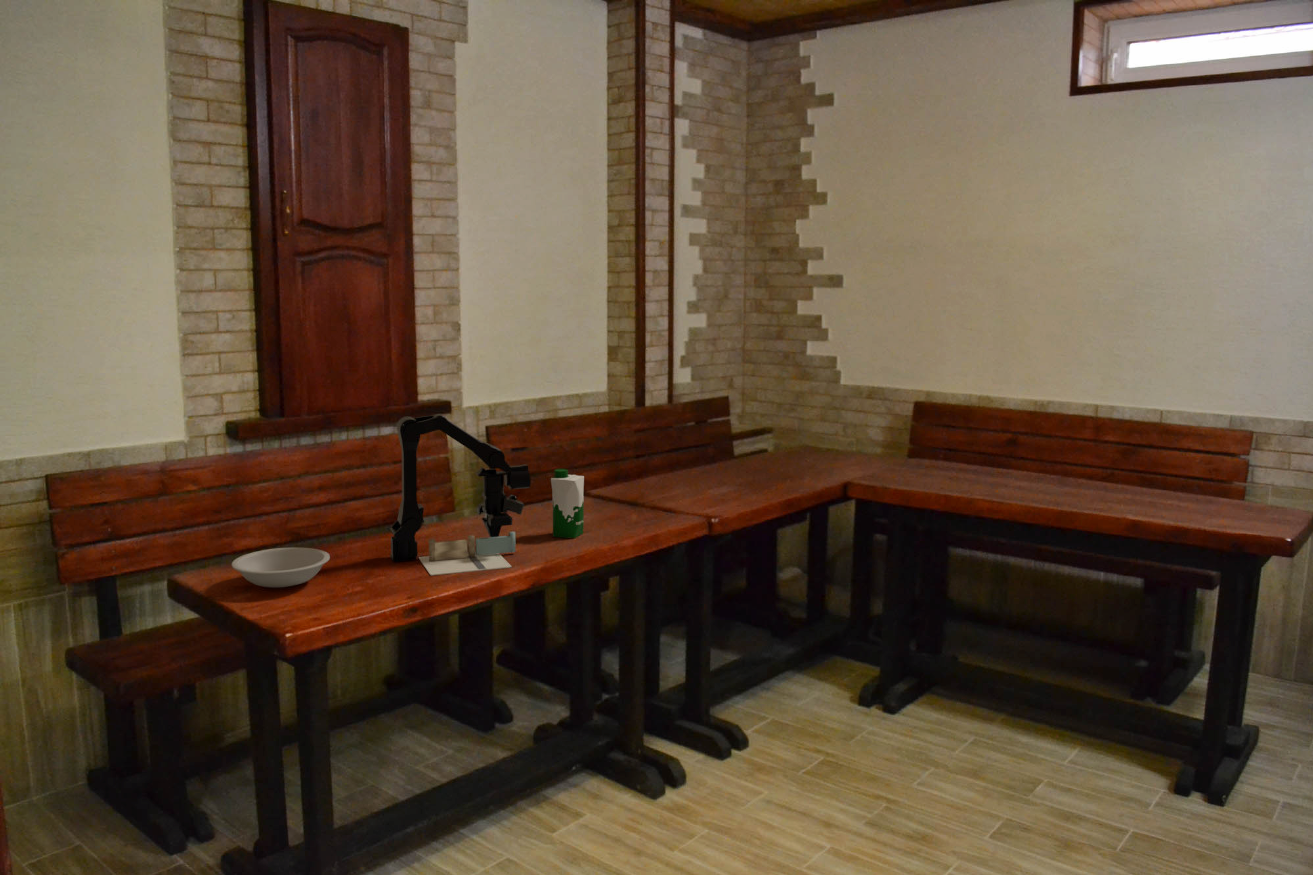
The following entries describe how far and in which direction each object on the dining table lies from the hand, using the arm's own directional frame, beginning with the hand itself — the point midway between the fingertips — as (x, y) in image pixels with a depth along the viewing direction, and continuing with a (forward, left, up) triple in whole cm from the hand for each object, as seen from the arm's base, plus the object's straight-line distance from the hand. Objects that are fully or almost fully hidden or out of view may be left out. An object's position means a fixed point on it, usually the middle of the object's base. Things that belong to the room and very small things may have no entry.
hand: (494, 543), depth 321 cm
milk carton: (+25, +9, -2) cm, 27 cm away
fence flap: (-1, -6, -1) cm, 6 cm away
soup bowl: (-59, -13, -2) cm, 60 cm away
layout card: (-11, -10, -2) cm, 15 cm away
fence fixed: (-14, -6, -2) cm, 15 cm away
